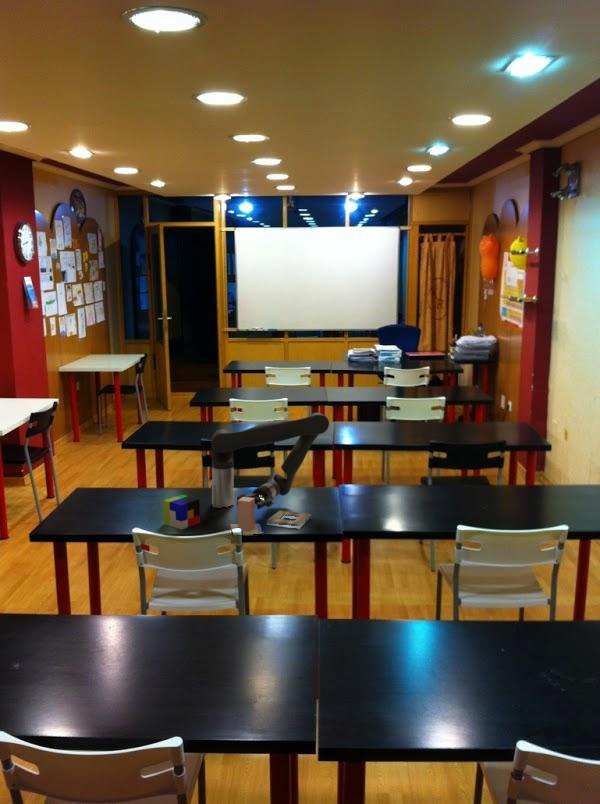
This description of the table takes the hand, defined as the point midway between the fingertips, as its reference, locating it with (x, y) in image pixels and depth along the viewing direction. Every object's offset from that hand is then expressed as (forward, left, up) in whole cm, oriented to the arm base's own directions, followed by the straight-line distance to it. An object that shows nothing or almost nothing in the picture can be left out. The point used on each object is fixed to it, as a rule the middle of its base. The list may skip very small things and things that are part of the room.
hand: (247, 505), depth 280 cm
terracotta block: (-1, -2, -9) cm, 9 cm away
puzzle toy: (-26, +10, -10) cm, 29 cm away
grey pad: (-1, -2, -10) cm, 10 cm away
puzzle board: (+17, +5, -10) cm, 21 cm away
